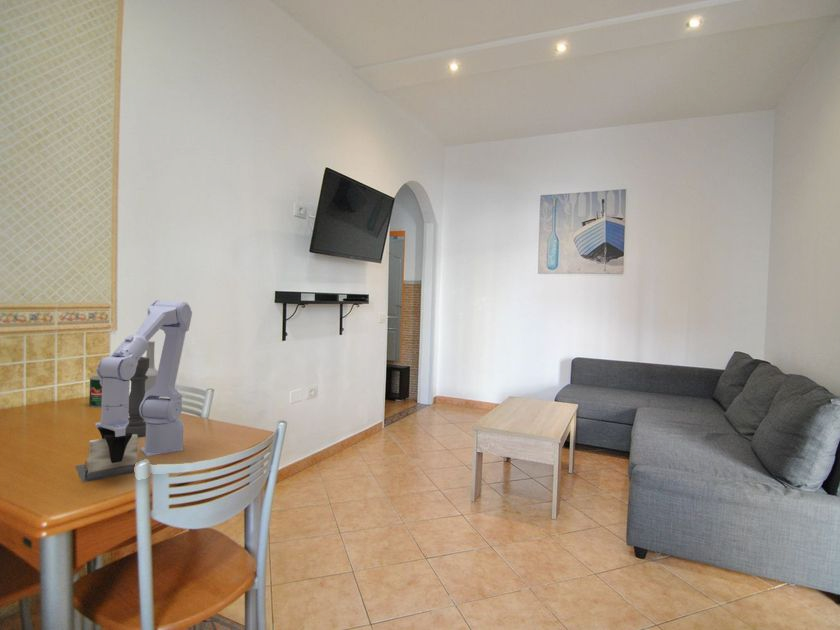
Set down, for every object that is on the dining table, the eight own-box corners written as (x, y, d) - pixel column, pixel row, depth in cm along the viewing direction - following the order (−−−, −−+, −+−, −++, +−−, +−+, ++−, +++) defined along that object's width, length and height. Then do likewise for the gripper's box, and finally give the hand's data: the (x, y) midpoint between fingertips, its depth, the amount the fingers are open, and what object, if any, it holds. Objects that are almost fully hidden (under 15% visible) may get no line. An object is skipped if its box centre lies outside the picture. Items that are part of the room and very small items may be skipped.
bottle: (133, 418, 163) (135, 341, 162) (149, 414, 169) (152, 340, 169) (146, 420, 161) (149, 342, 160) (162, 416, 167) (165, 341, 167)
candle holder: (136, 439, 141) (139, 360, 140) (119, 437, 142) (122, 358, 141) (152, 434, 147) (155, 357, 146) (135, 431, 148) (138, 356, 148)
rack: (133, 457, 126) (133, 450, 126) (144, 472, 117) (145, 464, 117) (75, 467, 117) (75, 459, 117) (82, 484, 108) (82, 475, 108)
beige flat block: (135, 467, 118) (136, 433, 118) (136, 469, 117) (137, 435, 117) (88, 476, 111) (89, 440, 111) (89, 478, 110) (90, 442, 110)
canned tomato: (112, 402, 184) (113, 375, 184) (114, 406, 178) (115, 378, 178) (88, 404, 179) (89, 376, 179) (89, 408, 173) (90, 379, 173)
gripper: (91, 400, 116) (89, 452, 116) (101, 412, 105) (99, 469, 106) (123, 397, 121) (121, 447, 121) (136, 408, 110) (134, 463, 111)
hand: (113, 457), depth 114 cm, fingers open, 7 cm apart
